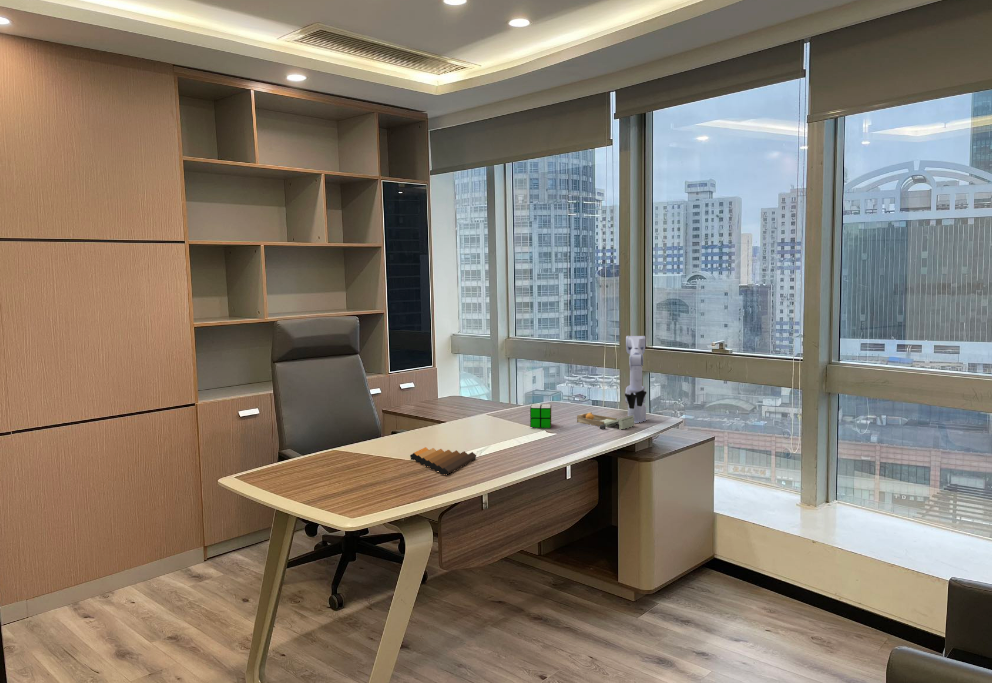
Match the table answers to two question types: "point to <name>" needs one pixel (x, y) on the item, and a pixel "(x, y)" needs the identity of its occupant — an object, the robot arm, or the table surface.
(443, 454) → the brown ridged panel
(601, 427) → the tee
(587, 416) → the ball
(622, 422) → the ramp
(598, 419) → the wooden tray
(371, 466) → the table surface
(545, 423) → the puzzle cube
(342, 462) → the table surface
